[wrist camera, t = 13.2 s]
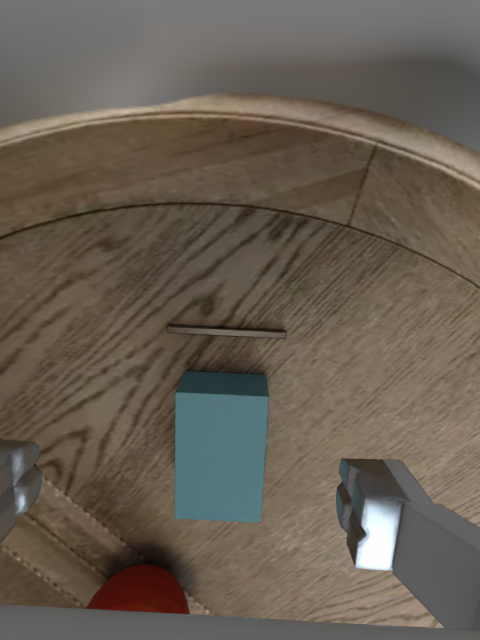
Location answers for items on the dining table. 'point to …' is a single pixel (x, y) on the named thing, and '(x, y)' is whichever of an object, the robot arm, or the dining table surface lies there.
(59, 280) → the dining table surface
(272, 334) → the stop strip
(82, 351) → the dining table surface
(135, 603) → the fruit
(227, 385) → the teal labeled box
